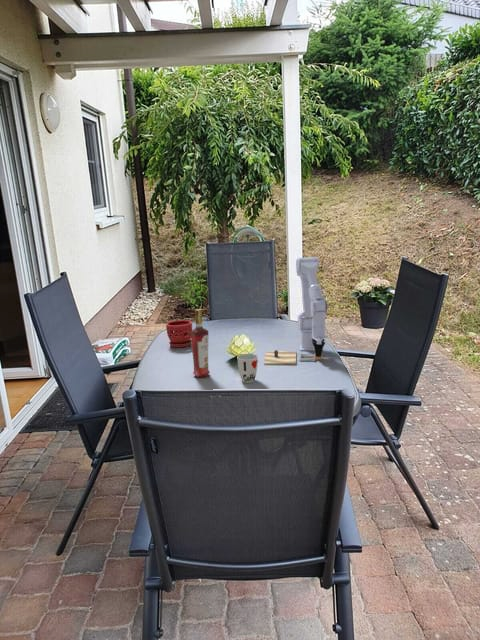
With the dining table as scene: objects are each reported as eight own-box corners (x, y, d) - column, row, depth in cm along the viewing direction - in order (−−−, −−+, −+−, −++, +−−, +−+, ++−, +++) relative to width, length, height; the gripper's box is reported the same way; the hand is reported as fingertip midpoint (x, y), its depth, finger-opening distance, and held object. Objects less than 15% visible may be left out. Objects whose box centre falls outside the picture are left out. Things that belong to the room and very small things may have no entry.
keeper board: (266, 352, 227) (266, 344, 226) (296, 352, 225) (296, 344, 224) (263, 364, 209) (263, 356, 208) (295, 364, 208) (295, 356, 207)
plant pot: (195, 341, 249) (194, 319, 247) (190, 348, 237) (188, 325, 234) (170, 341, 251) (169, 319, 248) (164, 348, 238) (163, 325, 235)
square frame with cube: (321, 356, 218) (321, 346, 217) (321, 361, 212) (322, 350, 210) (299, 356, 220) (299, 345, 218) (299, 361, 213) (299, 350, 212)
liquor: (201, 371, 203) (198, 307, 197) (214, 374, 198) (211, 309, 192) (189, 376, 197) (185, 310, 191) (201, 379, 193) (198, 312, 186)
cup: (241, 385, 186) (240, 360, 184) (235, 378, 193) (235, 354, 191) (260, 382, 188) (260, 358, 186) (254, 376, 195) (254, 352, 193)
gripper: (328, 330, 204) (328, 360, 207) (326, 322, 218) (326, 350, 221) (312, 330, 205) (311, 360, 208) (311, 322, 219) (310, 350, 222)
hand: (318, 355), depth 215 cm, fingers closed on square frame with cube, 3 cm apart
